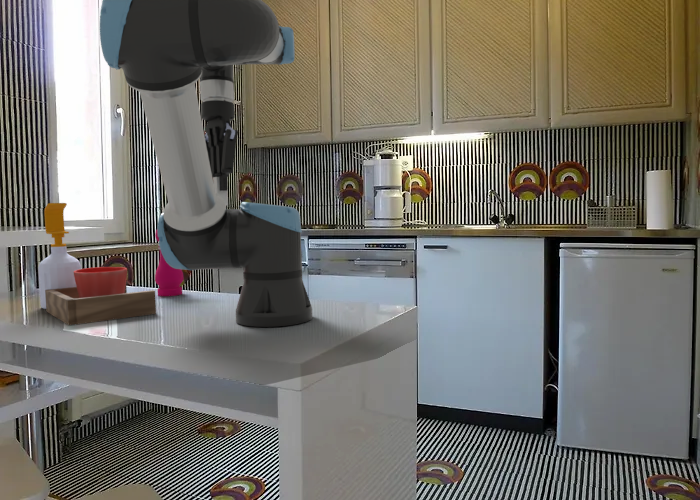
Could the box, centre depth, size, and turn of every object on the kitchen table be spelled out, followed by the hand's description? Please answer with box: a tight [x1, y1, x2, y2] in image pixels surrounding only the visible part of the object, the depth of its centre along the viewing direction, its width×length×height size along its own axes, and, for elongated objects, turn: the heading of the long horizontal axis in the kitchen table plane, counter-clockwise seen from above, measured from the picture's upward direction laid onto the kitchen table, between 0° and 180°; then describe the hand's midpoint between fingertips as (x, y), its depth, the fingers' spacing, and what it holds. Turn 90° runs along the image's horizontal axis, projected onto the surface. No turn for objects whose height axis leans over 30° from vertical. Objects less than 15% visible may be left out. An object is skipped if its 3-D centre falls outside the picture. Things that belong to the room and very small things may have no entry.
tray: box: [45, 284, 157, 326], centre depth 130 cm, size 21×18×5 cm
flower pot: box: [73, 266, 128, 298], centre depth 131 cm, size 11×11×10 cm
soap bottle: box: [37, 202, 82, 310], centre depth 140 cm, size 9×9×25 cm
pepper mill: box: [154, 229, 185, 297], centre depth 155 cm, size 7×7×20 cm
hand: (221, 205), depth 136 cm, fingers closed
